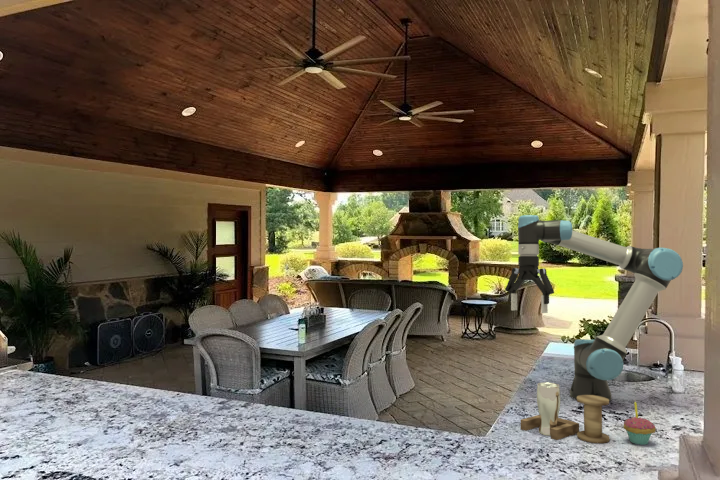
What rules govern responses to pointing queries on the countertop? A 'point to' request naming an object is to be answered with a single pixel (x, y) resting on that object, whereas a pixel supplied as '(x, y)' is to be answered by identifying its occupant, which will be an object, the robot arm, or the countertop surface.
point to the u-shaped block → (559, 432)
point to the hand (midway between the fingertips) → (528, 311)
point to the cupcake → (639, 428)
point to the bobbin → (593, 419)
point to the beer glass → (548, 406)
